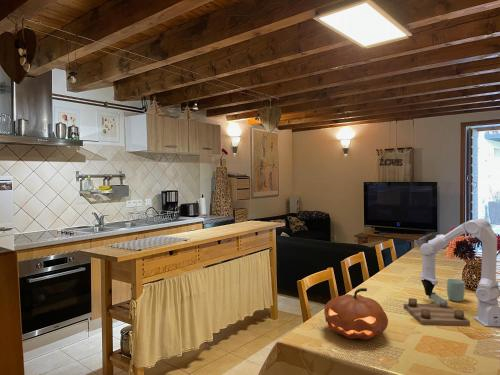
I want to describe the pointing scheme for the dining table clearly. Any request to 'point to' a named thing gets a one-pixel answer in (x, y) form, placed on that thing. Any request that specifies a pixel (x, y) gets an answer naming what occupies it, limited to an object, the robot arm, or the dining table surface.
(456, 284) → the cup
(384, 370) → the dining table surface
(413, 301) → the stool seat
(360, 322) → the pumpkin
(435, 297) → the swing leg
